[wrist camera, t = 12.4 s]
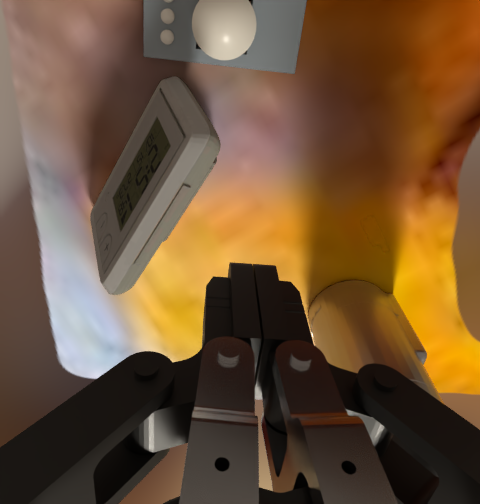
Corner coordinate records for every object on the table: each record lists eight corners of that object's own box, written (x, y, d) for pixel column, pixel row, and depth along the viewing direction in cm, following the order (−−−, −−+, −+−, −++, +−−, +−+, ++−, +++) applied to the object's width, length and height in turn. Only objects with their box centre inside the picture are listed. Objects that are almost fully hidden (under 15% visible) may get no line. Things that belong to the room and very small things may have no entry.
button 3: (256, -9, 33) (260, -8, 30) (249, 57, 35) (252, 63, 32) (195, -17, 32) (193, -17, 29) (192, 50, 35) (190, 56, 32)
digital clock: (176, 61, 36) (163, 87, 27) (253, 137, 39) (264, 182, 30) (65, 193, 41) (22, 252, 32) (141, 249, 45) (121, 316, 36)
